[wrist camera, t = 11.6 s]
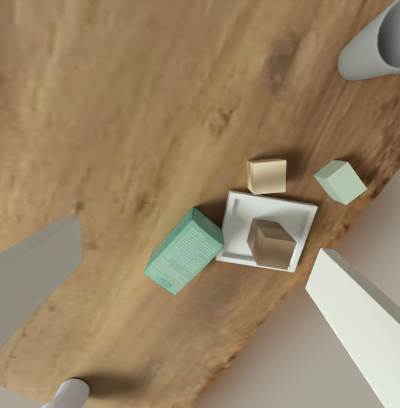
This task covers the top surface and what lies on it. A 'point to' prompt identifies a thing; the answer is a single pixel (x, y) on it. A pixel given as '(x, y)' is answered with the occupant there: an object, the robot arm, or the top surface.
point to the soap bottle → (70, 395)
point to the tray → (265, 210)
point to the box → (185, 251)
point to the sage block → (340, 181)
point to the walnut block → (270, 244)
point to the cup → (374, 48)
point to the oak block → (266, 175)
